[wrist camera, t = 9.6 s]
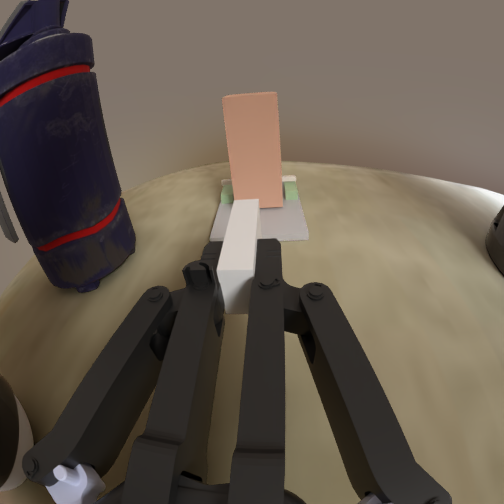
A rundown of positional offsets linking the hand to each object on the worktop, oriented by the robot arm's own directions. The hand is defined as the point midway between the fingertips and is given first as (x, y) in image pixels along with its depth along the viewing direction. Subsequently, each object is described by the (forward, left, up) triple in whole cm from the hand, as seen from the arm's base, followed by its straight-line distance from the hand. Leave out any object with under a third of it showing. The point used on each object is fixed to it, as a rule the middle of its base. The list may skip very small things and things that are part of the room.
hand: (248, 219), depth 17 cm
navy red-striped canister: (+19, -5, -7) cm, 21 cm away
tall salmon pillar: (0, -16, -6) cm, 17 cm away
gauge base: (0, -16, -7) cm, 17 cm away
